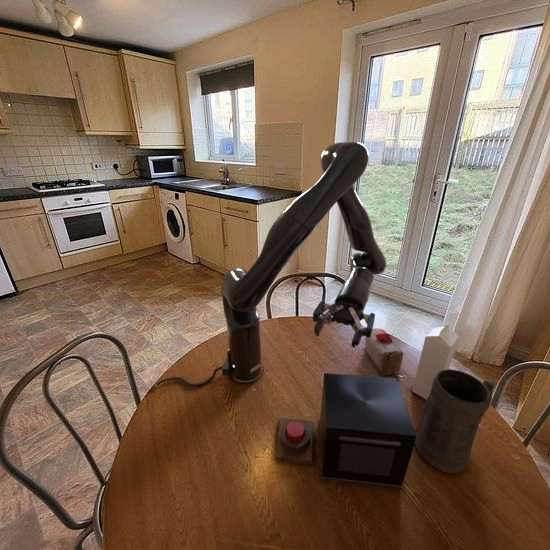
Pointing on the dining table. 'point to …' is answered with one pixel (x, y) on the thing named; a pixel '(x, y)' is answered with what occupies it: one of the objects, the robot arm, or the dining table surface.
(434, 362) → the milk
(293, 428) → the button
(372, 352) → the food item
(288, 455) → the housing
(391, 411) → the oven
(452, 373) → the beer stein
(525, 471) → the dining table surface
